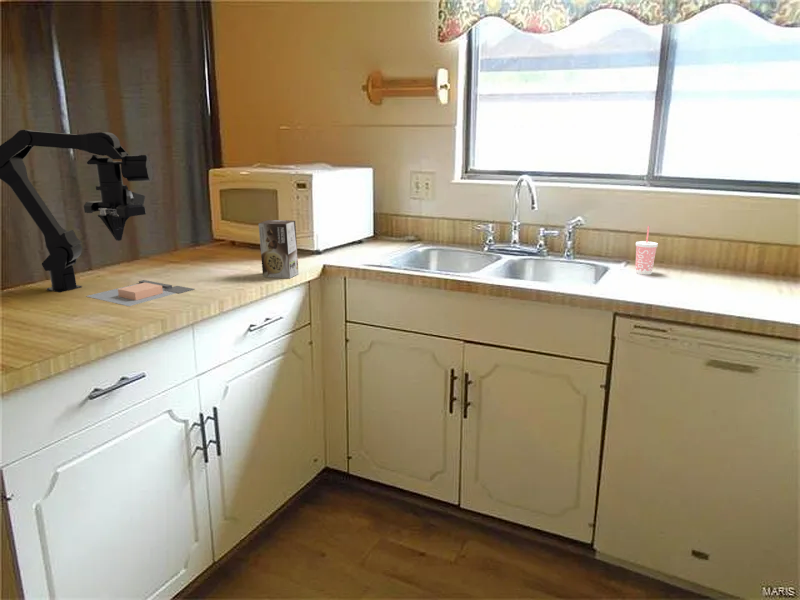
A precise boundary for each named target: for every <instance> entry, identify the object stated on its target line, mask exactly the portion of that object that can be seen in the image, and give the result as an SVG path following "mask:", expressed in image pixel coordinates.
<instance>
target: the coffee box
mask: <svg viewBox="0 0 800 600" xmlns="http://www.w3.org/2000/svg"><path fill="white" fill-rule="evenodd" d="M257 224H258V233H259V245H260V246H259V247H260V257H261V270H262V277H263V278H275V279H276V278H277V279H278V278H279V279H282V278H283V279H291V278H294V277H295V276H298V275H299V262H298V261H299V258H298V244H297V243H298V240H297V229H296V227H297V226H296V220H287V219H286V220H285V219H284V220H283V219H282V220H280V219H267V220H264V221H261V222H259V223H257Z"/></svg>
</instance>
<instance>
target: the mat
mask: <svg viewBox="0 0 800 600" xmlns="http://www.w3.org/2000/svg"><path fill="white" fill-rule="evenodd" d="M137 284H141V283H139V282H138V283H134V284H130V285H126V286H122V287H121V286H120V287H118V288H114V289H109V290H104V291H102V292H97V293H94V294H89V295H86V296H85V297H87V298H92V299H95V300H100V301H103V302H108V303H112V304H113V303H114V304H118V305H122V306H126V307H131V306H132V307H133V306H134V305H138V304H142V303H145V302H149V301H153V300H157V299H161V298H165V297H169V296H171V295H172V296H173V295H176V294H177V293H174V292H169V291H164V290H163V293H161V294H158V295H154V296H150V297H146V298H143V299H139V300H132V299H128V298H123V297H119V295H118V289H120V288H124V287H128V286H132V285H137ZM162 289H166V288H162Z"/></svg>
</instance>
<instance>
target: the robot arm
mask: <svg viewBox="0 0 800 600" xmlns="http://www.w3.org/2000/svg"><path fill="white" fill-rule="evenodd" d="M120 141H121V140H120V139H119V137H117V135H115V134H114V133H112V132H107V131H106V132H91V133H90V132H89V133H82V134H81V133H80V134H75V133H61V132H48V131H39V130H38V131H37V130H33V129H20V130H18V131H17V132H16V133H15V134H14V135H13V136H12V137H10V138H9V139H7V140H6V141H4V142H3V143H2V144H0V180H1V181H2V182H3V183H5V184H6V185H8V186H9V188H10V189H11V190H12V192H13V193H14V195H16V197H17V199H18V200H19V202H20V203H21V204H22V206H23V208H25V210H26V212H27V213H28V214H29V216H30V217H31V219H32V220H33V222H34V223H35V225H36V226H37V227H38V229H39V230H40V232H41V233H42V235H43V237H44V243H45V247H46V249H47V252H48V256H47V257H46V258H45V259H44V260H43V262H42V263H41V266H42V267H43V269H44V271H45V272H49V276H50V282H51V286H50V287H46V291H47V292H48V291H49V292H56V293H64V292H67V291H72V290H77V289H81V288H83V286H82V285H79V284H77V281H76V275H75V270H74V269H75V268H74V265H75V264H76V263H77V260H78V258H79V257H80V256H81V255H82V250H83V247H82V241H81V240H80V239H79V238H78V237H77V235H76V232H75V231H74V229H70V230H66V229H65V228H63V227H62V226H61V225H60V223H59V221H58V220H57V219H56V217H55V216H54V215H53V213H52V212H51V210H50V208H49V207H48V206H47V205H46V202H44V200H43V198H42V197H41V195H40V194H39V193H38V191H37V189H36V188H35V187H34V186H33V184H32V182H31V181H30V179H29V177H28V172H27V167H26V165H25V162H24V161H23V160H24V159H25V158H26V157H27V156H29V153H30V152H31V151H32V150H33V149H34V147H44V148H45V147H46V148H55V149H56V148H57V149H70V150H72V149H73V150H79V151H82V152H85V153H89V154H92V156H91V158H90V159H88V161H86V164H87V165H95V166H96V173H97V181H98V185H96V186H95V189H96V191H99V194H100V200H93V201H85V203H84V204H83V210H84V214H85V213H86V214H94V213H93V212H99V214H98V215H97V218H99V219H100V220H101V221H102V223H103V224H104V225H105V227H106V228H107V229H108V231H109V232H110V234H111V235H112V236H113V238H114V240H115V241H117V242H120V241H122V239H123V235H124V229H125V226H126V223H127V220H128V219H130V218H131V217H137V216H144V215H147V209H146V206H145V199H146V195H144V194H141V193H138V192H133V191H132V190H129V187H128V185H127V184H124V182H123V181H124V180H123V178H124V179H126V180H127V181H128V182H152V181H153V177H154V171H153V166H152V163H151V160H150V159H149V158H150V157H149V155H148V154H139V155H130V154H129V152H127V151H126V150H125V149H124V147H122V145H121V142H120ZM99 156H107V157H99ZM113 160H121V161H113Z"/></svg>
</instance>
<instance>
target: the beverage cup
mask: <svg viewBox="0 0 800 600" xmlns="http://www.w3.org/2000/svg"><path fill="white" fill-rule="evenodd" d="M649 236H650V225H647V230H646V240H640V241H636V242H635V268H634V269H635V271H634V272H635V274H639V275H651V274H653V270H654V269H653V268H654V264H655V263H654V262H655V257H656V254H657V253H656V252H657V248H658V246H659V245H658V244H659V243H658V242H656V241H655V242H654V241H649Z"/></svg>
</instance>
